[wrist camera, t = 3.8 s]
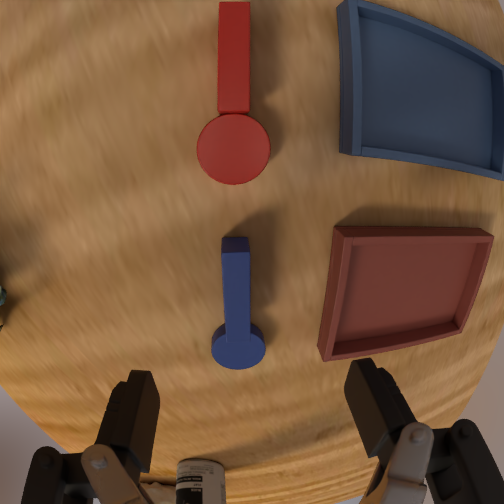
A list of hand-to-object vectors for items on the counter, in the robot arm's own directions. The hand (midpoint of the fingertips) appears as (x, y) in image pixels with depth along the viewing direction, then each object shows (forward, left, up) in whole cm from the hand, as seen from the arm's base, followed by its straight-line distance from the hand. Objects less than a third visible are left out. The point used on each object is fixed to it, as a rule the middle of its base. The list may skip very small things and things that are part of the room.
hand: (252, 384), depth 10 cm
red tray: (+14, -2, -9) cm, 17 cm away
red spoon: (0, +11, -9) cm, 15 cm away
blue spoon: (0, -3, -9) cm, 10 cm away
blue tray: (+14, +13, -9) cm, 21 cm away
